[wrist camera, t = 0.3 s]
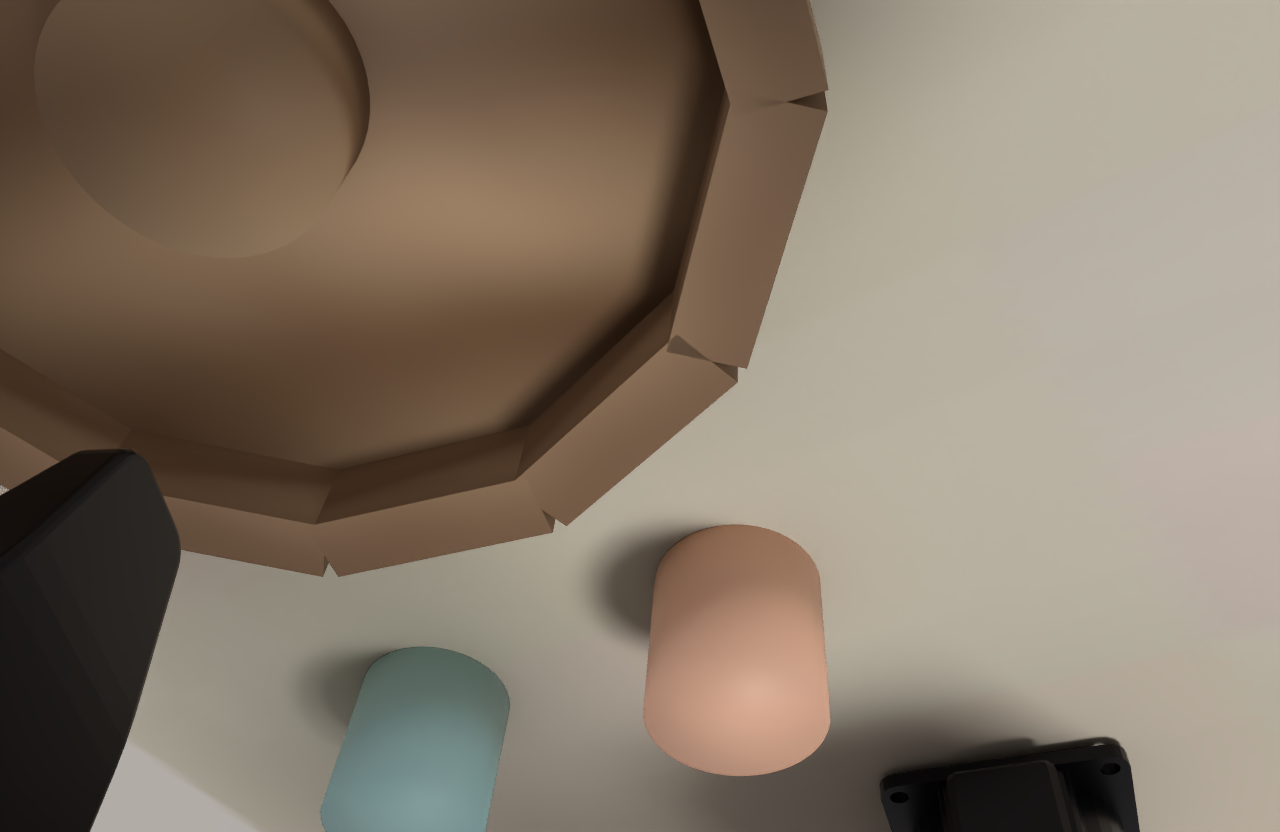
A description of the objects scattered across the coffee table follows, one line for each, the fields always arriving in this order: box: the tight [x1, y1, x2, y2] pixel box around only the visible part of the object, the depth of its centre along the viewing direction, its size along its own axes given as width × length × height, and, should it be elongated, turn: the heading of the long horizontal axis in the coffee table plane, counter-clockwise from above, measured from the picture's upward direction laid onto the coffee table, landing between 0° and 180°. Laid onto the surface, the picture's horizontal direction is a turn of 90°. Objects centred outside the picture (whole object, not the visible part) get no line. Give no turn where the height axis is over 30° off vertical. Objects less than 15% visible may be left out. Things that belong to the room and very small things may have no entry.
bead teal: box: [320, 647, 510, 832], centre depth 30 cm, size 4×4×4 cm
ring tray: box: [0, 0, 828, 577], centre depth 20 cm, size 20×20×3 cm
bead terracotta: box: [644, 525, 830, 776], centre depth 26 cm, size 4×4×4 cm
